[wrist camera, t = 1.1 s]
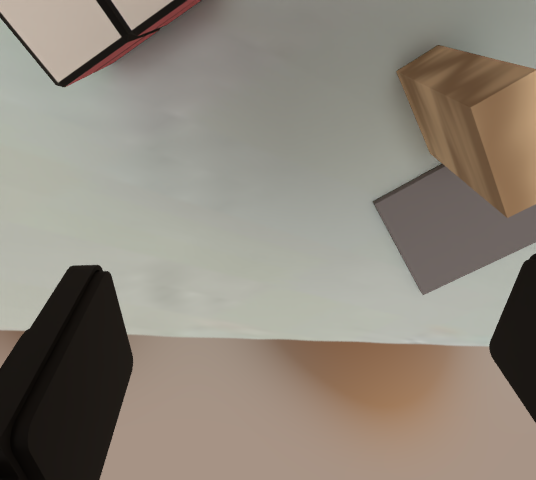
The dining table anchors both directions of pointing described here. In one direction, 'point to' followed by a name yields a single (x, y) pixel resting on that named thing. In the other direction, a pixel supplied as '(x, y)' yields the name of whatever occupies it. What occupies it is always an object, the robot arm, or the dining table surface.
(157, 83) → the dining table surface
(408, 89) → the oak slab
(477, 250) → the mat
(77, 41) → the puzzle cube
